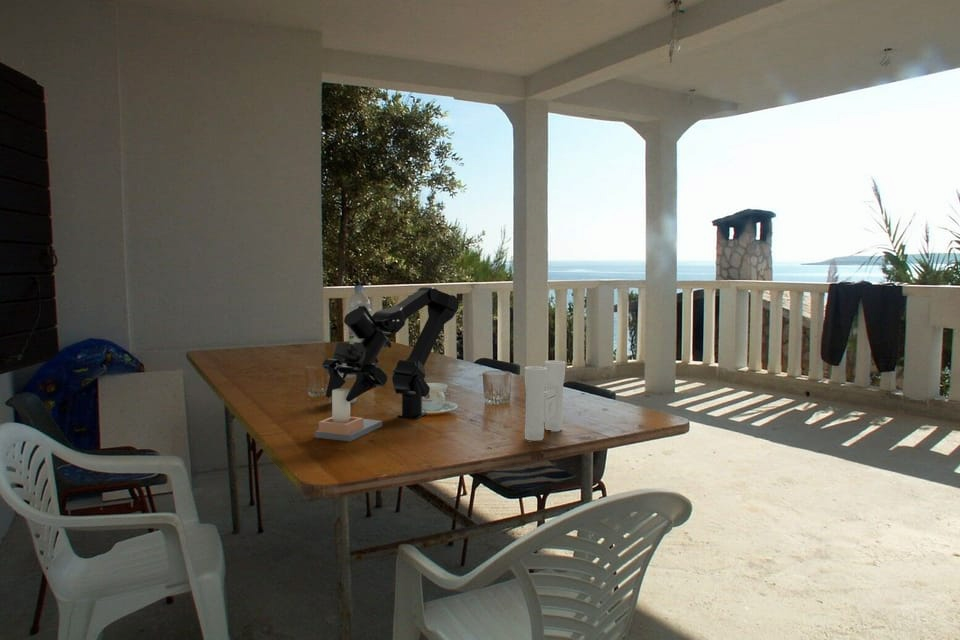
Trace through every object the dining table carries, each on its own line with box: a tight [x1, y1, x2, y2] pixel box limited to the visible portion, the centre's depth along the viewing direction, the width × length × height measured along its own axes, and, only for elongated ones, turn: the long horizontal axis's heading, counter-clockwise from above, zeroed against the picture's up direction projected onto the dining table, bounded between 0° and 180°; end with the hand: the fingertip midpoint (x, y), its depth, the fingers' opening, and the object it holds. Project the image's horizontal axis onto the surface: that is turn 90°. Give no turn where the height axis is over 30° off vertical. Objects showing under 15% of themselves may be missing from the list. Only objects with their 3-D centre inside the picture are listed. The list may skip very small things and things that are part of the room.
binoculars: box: [524, 359, 566, 441], centre depth 169 cm, size 17×5×18 cm, turn 150°
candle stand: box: [314, 415, 383, 442], centre depth 170 cm, size 16×10×4 cm, turn 160°
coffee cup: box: [332, 354, 358, 405], centre depth 206 cm, size 8×8×15 cm
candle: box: [331, 389, 351, 424], centre depth 166 cm, size 4×4×10 cm
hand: (337, 398), depth 165 cm, fingers open, 7 cm apart
